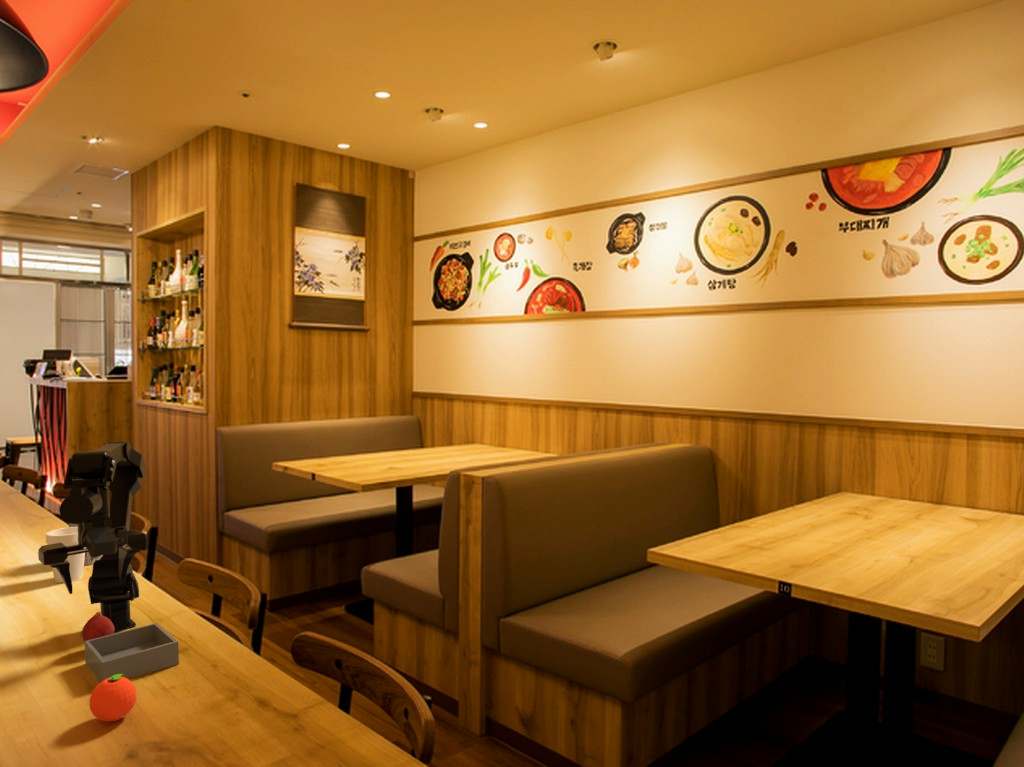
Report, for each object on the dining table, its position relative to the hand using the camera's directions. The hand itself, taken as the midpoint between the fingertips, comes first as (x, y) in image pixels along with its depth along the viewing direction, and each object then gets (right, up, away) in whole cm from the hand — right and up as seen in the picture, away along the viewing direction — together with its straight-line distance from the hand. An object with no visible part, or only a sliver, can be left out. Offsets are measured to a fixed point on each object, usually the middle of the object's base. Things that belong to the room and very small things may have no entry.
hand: (96, 587), depth 146 cm
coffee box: (-38, -10, +62) cm, 73 cm away
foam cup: (-34, -11, +46) cm, 58 cm away
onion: (0, -13, +1) cm, 13 cm away
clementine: (+18, -15, -26) cm, 35 cm away
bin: (+10, -13, -6) cm, 18 cm away
